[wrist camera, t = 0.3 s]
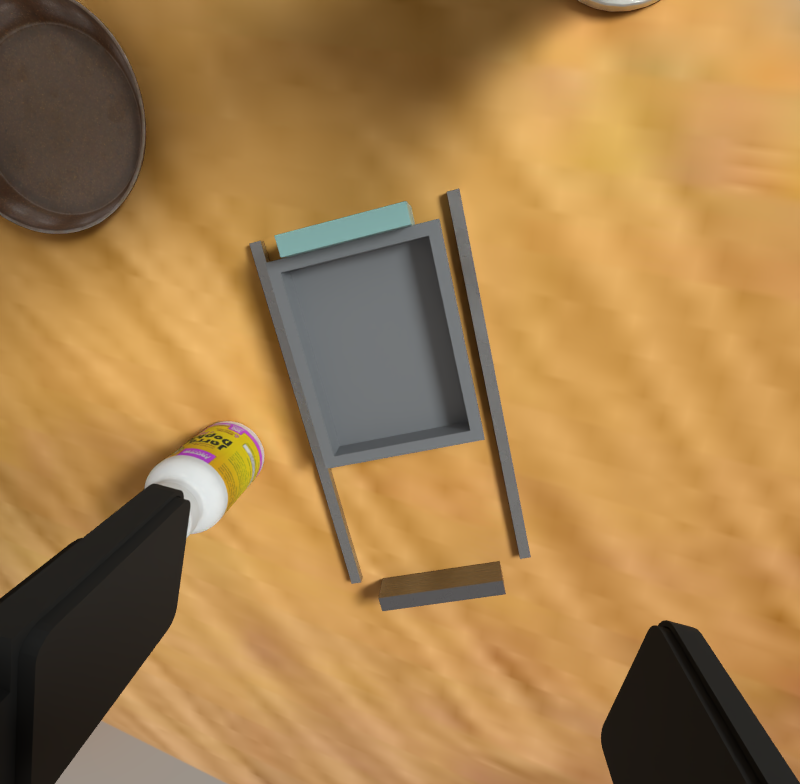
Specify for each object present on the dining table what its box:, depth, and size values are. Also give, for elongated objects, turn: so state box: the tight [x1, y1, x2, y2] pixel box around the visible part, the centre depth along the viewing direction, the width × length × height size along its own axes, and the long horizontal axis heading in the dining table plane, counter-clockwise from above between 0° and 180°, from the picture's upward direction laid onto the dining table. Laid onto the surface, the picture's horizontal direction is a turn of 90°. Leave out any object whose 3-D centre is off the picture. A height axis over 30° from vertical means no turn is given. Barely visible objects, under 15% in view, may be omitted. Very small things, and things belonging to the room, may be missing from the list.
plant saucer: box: [0, 0, 146, 234], centre depth 41 cm, size 18×18×3 cm
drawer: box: [265, 201, 485, 469], centre depth 42 cm, size 20×14×6 cm
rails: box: [250, 189, 531, 611], centre depth 45 cm, size 36×18×3 cm, turn 13°
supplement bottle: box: [144, 421, 264, 538], centre depth 43 cm, size 7×7×13 cm
